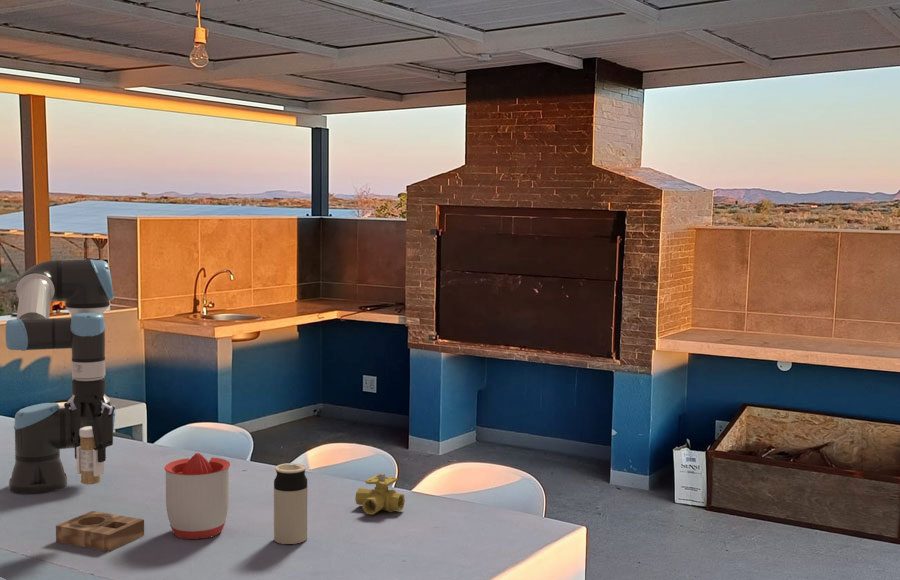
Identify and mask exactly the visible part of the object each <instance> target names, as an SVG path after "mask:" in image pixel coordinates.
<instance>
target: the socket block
mask: <svg viewBox="0 0 900 580" xmlns="http://www.w3.org/2000/svg"><path fill="white" fill-rule="evenodd" d="M144 536H145V519H144V518H138V517H131V516H127V515H126V516H125V515H119V514H113V513H109V512H108V513H107V512H101V511H95V510H91V511H88V512H86V513H83V514H81V515H78V516H75V517H74V518H71V519H69V520H66V521H63V522H61V523H58V524H57V525H55V542H56V543H61V544H66V545H71V546H77V547H81V546H82V547H81V548H87V549H94V550H97V549H98V550H99V551H103V552H108V551H109V553H110V552H112V551H114V550H116V549H118V548H121V547H122V546H125V545H127V544H129V543H131V542H133V541H135V540H137V539H139V538H140V539H141V538H142V537H144Z"/></svg>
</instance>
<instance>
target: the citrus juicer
mask: <svg viewBox="0 0 900 580" xmlns="http://www.w3.org/2000/svg"><path fill="white" fill-rule="evenodd" d="M230 466H231V462H230V461H229V460H226V459H223V458H220V457H211V458H210V459H209V461H208V460H207V459H206V457H204V456H203V455H202V454H201V453H199V452H196V453H195V454H194V455H193V456H192V457H190V458H181V459H176V460H173V461H171V462H169V463H167V464H166V465H164V471H165V504H166V505H165V506H166V513H167V517H168V518H167V519H168V521H169V526H170V528H171V531H172V533H173V535H174V536H176V537H178V538H179V537H180V538H179V539H182V538H184V539H187V540H188V539H190V540H193V539H195V540H196V539H197V540H198V539H207V538H212V537H211V536H213V537H215V536H216V535H218V534H220V533H221V532H222V530H223V529H224V526H225V524H226V521H227V520H226V519H227V516H228V512H229V505H230Z"/></svg>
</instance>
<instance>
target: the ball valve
mask: <svg viewBox="0 0 900 580" xmlns="http://www.w3.org/2000/svg"><path fill="white" fill-rule="evenodd" d="M398 480H399V479H398V477H396V476H389V477H387V476H386V474H385V473H384V472H380V473H378V474H376V475H373V476H372V477H369V478H368V479H366V480H365V484H367V485H375V486H374V489H370V488H369V489H368V488H364V487H359V488H358V489H357V491H356V493H355V498H354V500H355V503H356V505H361V506H362V508H361V509H362V510H363V511H364V512H365V514H367V515H375V514H376V513H378V512H381V511H385V512H388V513H392V512H394V511H397V512H401V511H403V509H404V506H405V502H406V501H405V500H406V499H405V494H404V493H397V491H396V490H394V489H389V486H390V485H392V484H394V483H396V482H398Z"/></svg>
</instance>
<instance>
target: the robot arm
mask: <svg viewBox="0 0 900 580" xmlns="http://www.w3.org/2000/svg"><path fill="white" fill-rule="evenodd" d="M110 269H111V268H110V265H109V263H108V262H107V261H105V260H101V259H100V260H97V259H68V260H67V259H58V260H57V259H53V260H52V259H50V260H46V261H41V262H39V263H37V264H35V265H33V266H31V267H30V268H28V269H27V270H25V271H24V272H23V273H22V274H21V276H19V278H18V280H17V284H16V287H15V288H16V291H15V292H16V296H17V298H18V304H17V312H16V313H17V314H16V318H15V319H9V320H6V323H5V328H4V329H5V332H4V333H5V346H6V348H7V349H8V350H10V351H22V352H26V351H39V350H62V349H67V350H68V349H71V377H72V381H71V393H72V396H71V397H70V398H69V399H68V400H67V402H65V403H63V404H64V405H63V406H64V407H60V405H59V403H58V402H42V403H38V404H33V405H29V406H26V407H24V408H23V407H22V408H20V409H19V410H18V411H16V413H15V415H14V426H13V430H14V442H15V443H14V453H15V455H14V456H15V460H14V465H13V469H12V472H11V477H10V479H9V480H8V489H9V491H10V493H11V492H12V493H15V494H22V495H32V494H33V495H37V494H45V493H49V492H50V493H51V492H55V491H57V490H60V489H63V488H65V487H66V486H68V476H67V473H65V468H64V465H63V463H62V460H61V451H60V450H62V449H63V450H65V449H74V458H75V460H76V474H77V475H81V456H80V448H81V444H80V436H79V430H80V428H82V427H87V426H92V430H93V435H94V440H95V446H96V448H94V449H93V474H94V476H95V477H96V476H99V475H100V476H102V475H105V461H106V459H107V455H106V454H107V453H106V451H107V448H108V447H111V446H113V445H114V430H115V429H114V428H115V422H116V418H115V417H116V405H114V404H111V399H110V397H108V396H107V395H106V394H105V393H106V391H107V388H106V387H107V385H106V384H107V381H106V378H105V376H106V375H107V374H106V355H105V354H106V323H105V316H104V313H105V311H106V310H107V309H108V308H109V307H110V305H109V304H110V302H111V301H113V300H114V299H115V297H114V289H113V282H112V275H111V271H110ZM109 301H110V302H109ZM51 302H64V303H65V304H64V305H65V306H64V307H65V309H66V310H67V311H68V312H69V313H70V316H71V317H64V318H63V317H60V318H58V317H57V318H50V311H51Z"/></svg>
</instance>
